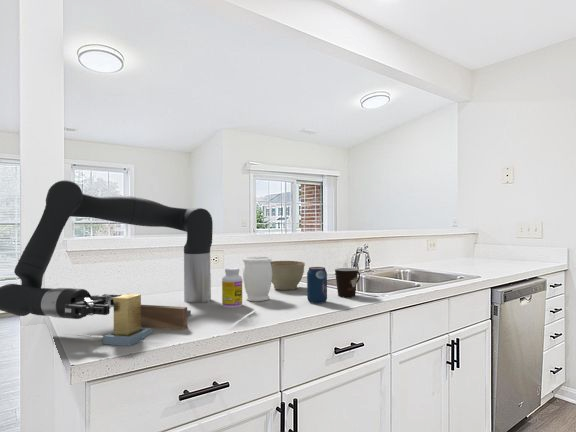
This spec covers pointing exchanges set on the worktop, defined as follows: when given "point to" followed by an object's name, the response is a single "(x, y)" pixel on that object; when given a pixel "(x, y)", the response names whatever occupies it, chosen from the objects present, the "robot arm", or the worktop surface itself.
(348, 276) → the coffee mug
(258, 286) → the jar
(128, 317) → the block
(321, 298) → the soda can
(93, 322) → the worktop surface
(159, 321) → the board
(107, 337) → the socket
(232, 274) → the supplement bottle
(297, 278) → the planter bowl
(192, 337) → the worktop surface
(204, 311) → the worktop surface
